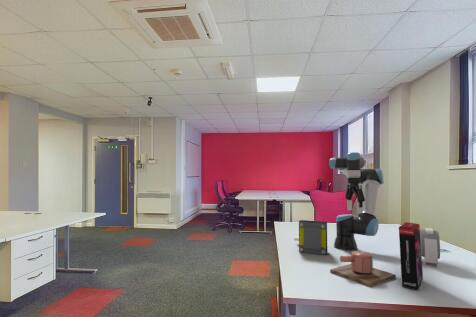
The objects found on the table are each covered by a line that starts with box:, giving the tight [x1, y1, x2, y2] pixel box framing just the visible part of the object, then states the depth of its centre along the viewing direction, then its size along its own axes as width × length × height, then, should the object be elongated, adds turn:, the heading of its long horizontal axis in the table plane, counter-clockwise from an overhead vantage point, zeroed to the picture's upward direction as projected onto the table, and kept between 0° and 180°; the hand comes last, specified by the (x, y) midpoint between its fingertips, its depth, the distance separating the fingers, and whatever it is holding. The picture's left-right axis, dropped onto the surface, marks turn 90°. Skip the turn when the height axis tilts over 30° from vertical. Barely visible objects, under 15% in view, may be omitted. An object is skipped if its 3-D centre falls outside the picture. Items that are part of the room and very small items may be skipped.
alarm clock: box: [420, 227, 441, 268], centre depth 156 cm, size 18×8×20 cm, turn 148°
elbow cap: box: [339, 250, 374, 273], centre depth 136 cm, size 16×9×8 cm, turn 92°
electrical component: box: [298, 219, 328, 256], centre depth 178 cm, size 18×10×20 cm, turn 68°
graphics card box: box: [398, 221, 424, 291], centre depth 126 cm, size 17×7×27 cm, turn 139°
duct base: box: [329, 263, 397, 288], centre depth 136 cm, size 22×22×10 cm
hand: (354, 211), depth 165 cm, fingers open, 13 cm apart
